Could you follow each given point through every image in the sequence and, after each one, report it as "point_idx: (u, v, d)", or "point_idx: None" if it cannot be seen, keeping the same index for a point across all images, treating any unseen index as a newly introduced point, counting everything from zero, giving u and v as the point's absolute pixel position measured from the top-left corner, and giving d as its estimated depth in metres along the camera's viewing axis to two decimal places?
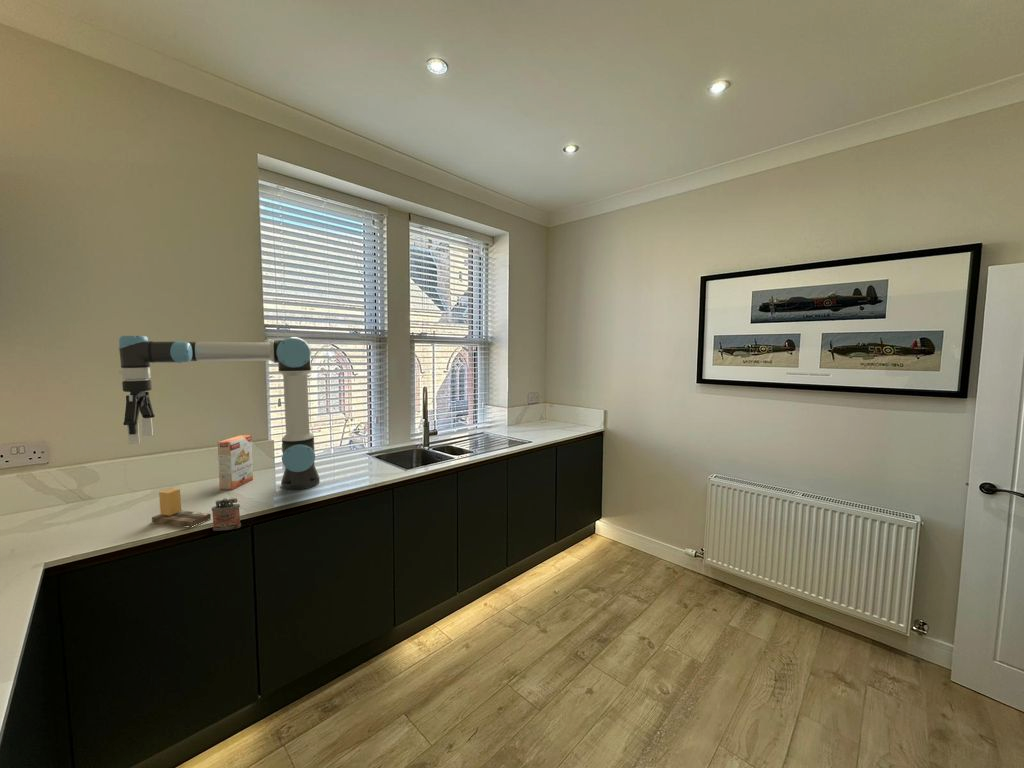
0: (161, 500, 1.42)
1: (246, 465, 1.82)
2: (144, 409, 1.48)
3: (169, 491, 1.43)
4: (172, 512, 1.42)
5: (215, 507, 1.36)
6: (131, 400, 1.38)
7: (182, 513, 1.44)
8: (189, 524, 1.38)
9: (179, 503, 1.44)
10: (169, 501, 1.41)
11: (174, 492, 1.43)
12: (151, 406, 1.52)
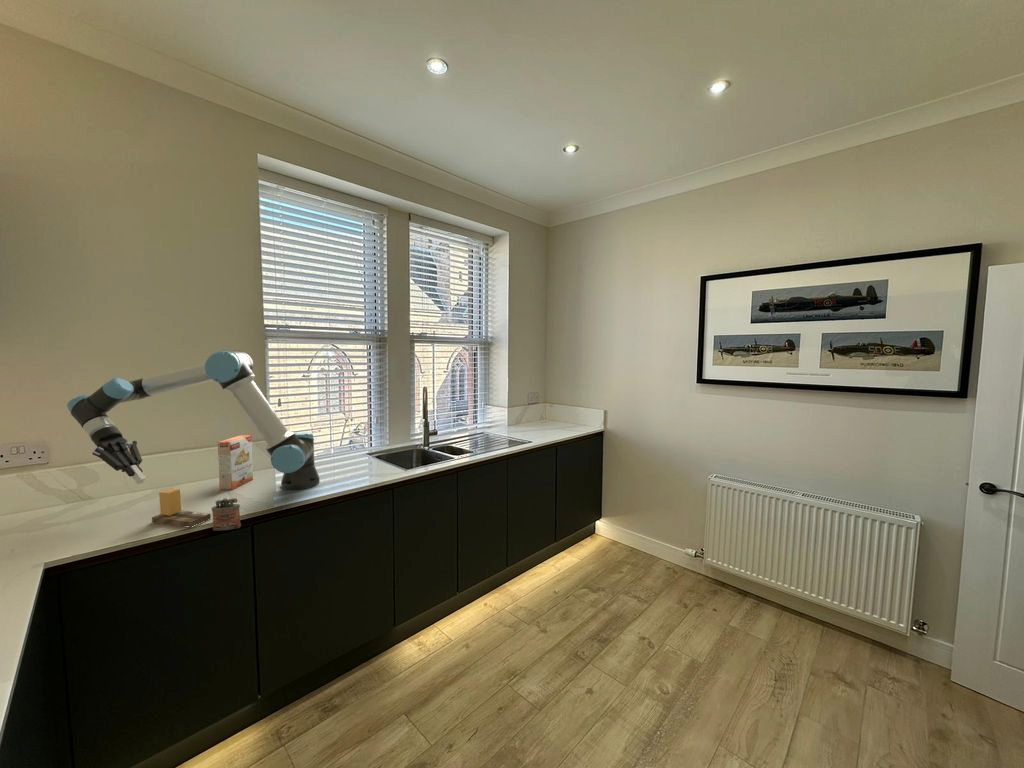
0: (161, 500, 1.42)
1: (246, 465, 1.82)
2: (125, 455, 1.47)
3: (169, 491, 1.43)
4: (172, 512, 1.42)
5: (215, 507, 1.36)
6: (99, 453, 1.41)
7: (182, 513, 1.44)
8: (189, 524, 1.38)
9: (179, 503, 1.44)
10: (169, 501, 1.41)
11: (174, 492, 1.43)
12: (139, 454, 1.50)
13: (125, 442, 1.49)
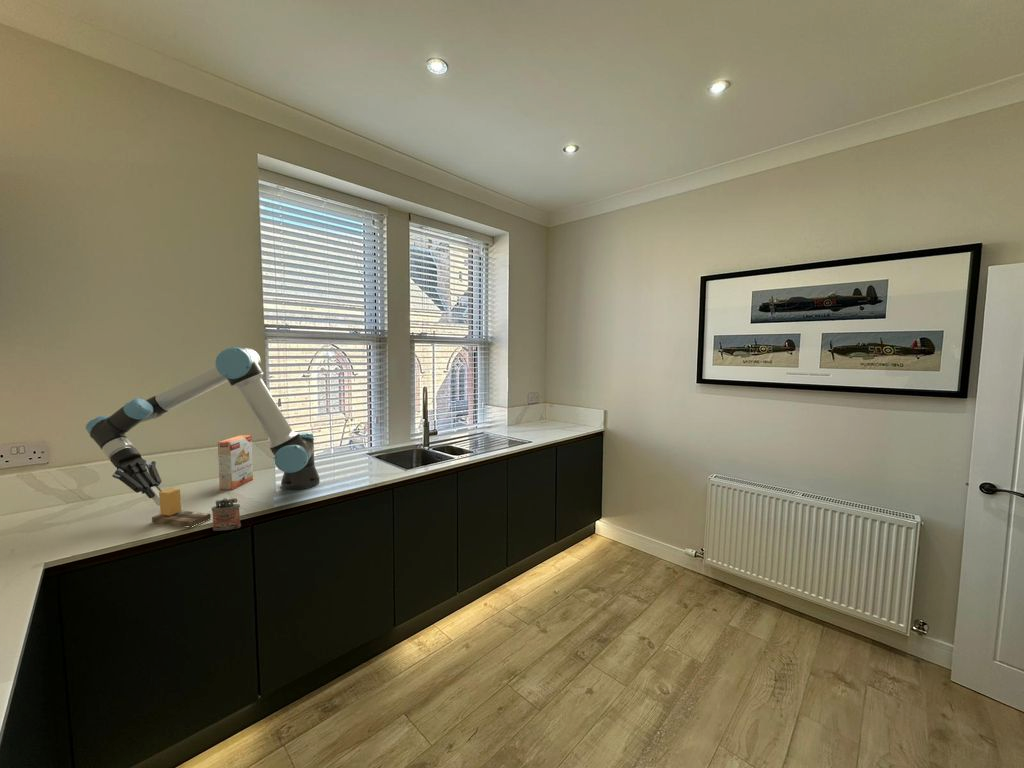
0: (161, 500, 1.42)
1: (246, 465, 1.82)
2: (144, 477, 1.46)
3: (169, 491, 1.43)
4: (172, 512, 1.42)
5: (215, 507, 1.36)
6: (119, 475, 1.40)
7: (182, 513, 1.44)
8: (189, 524, 1.38)
9: (179, 503, 1.44)
10: (169, 501, 1.41)
11: (174, 492, 1.43)
12: (158, 474, 1.49)
13: (144, 463, 1.48)
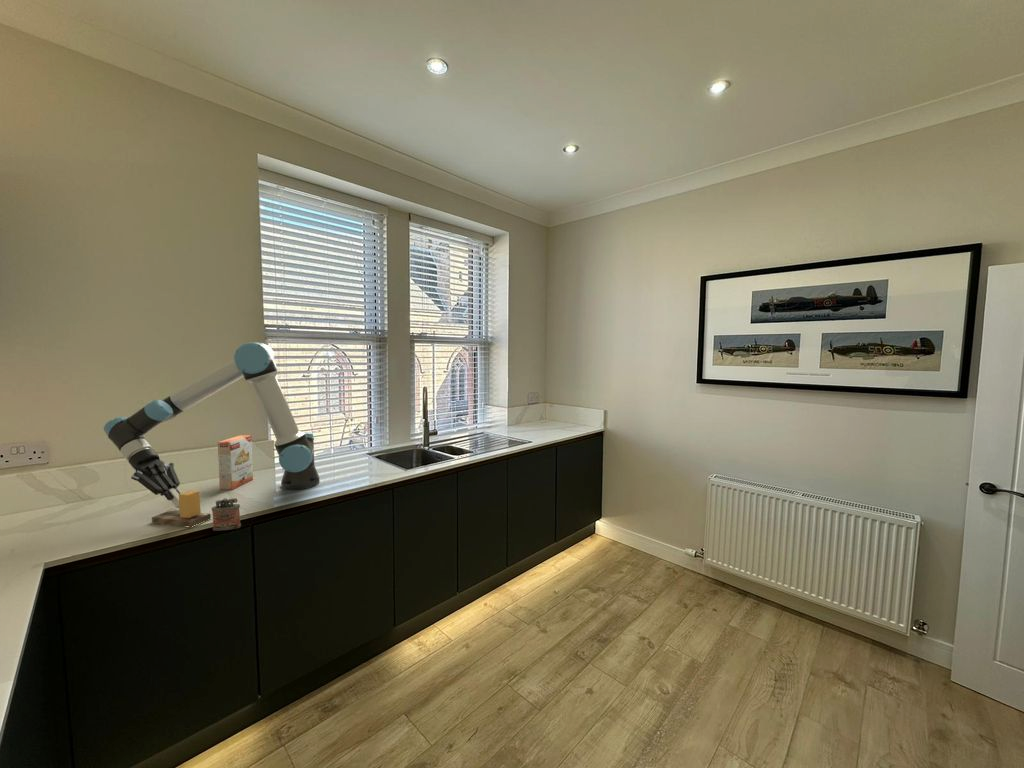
0: (180, 502, 1.40)
1: (246, 465, 1.82)
2: (163, 478, 1.44)
3: (188, 493, 1.41)
4: (192, 514, 1.40)
5: (215, 507, 1.36)
6: (138, 477, 1.38)
7: None
8: (189, 524, 1.38)
9: (198, 505, 1.43)
10: (189, 503, 1.39)
11: (194, 494, 1.41)
12: (176, 476, 1.47)
13: (162, 464, 1.46)
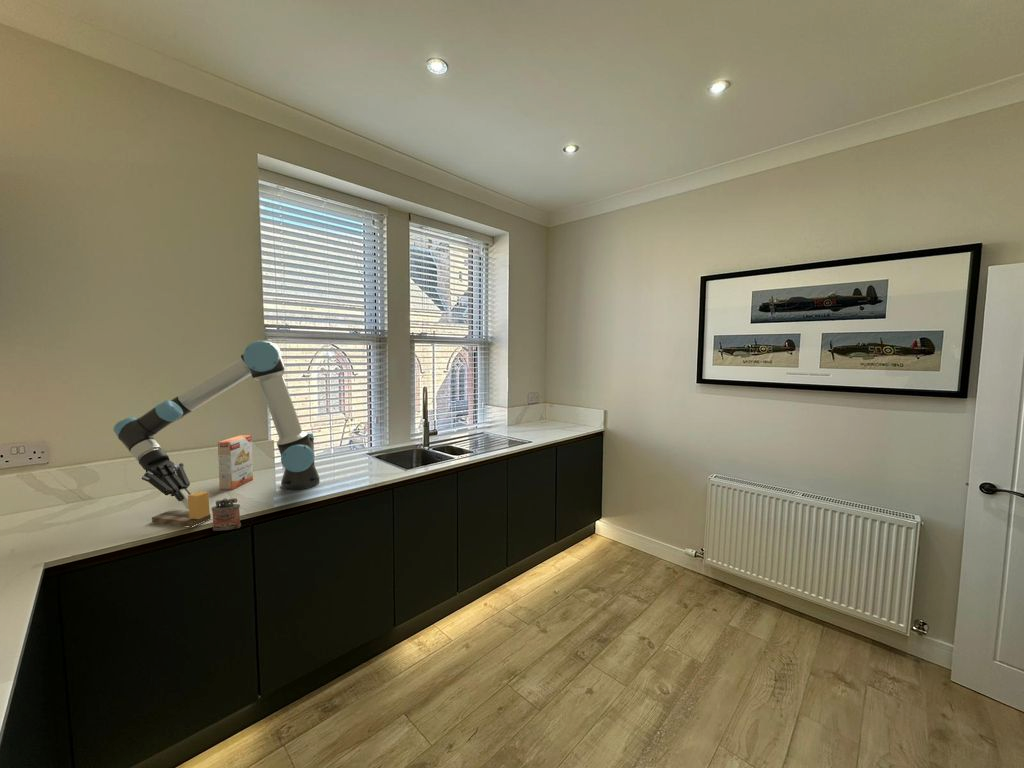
0: (190, 503, 1.39)
1: (246, 465, 1.82)
2: (173, 479, 1.43)
3: (198, 494, 1.40)
4: (201, 515, 1.40)
5: (215, 507, 1.36)
6: (148, 478, 1.37)
7: (182, 513, 1.44)
8: (189, 524, 1.38)
9: (207, 506, 1.42)
10: (198, 504, 1.39)
11: (203, 495, 1.40)
12: (186, 477, 1.46)
13: (172, 465, 1.46)
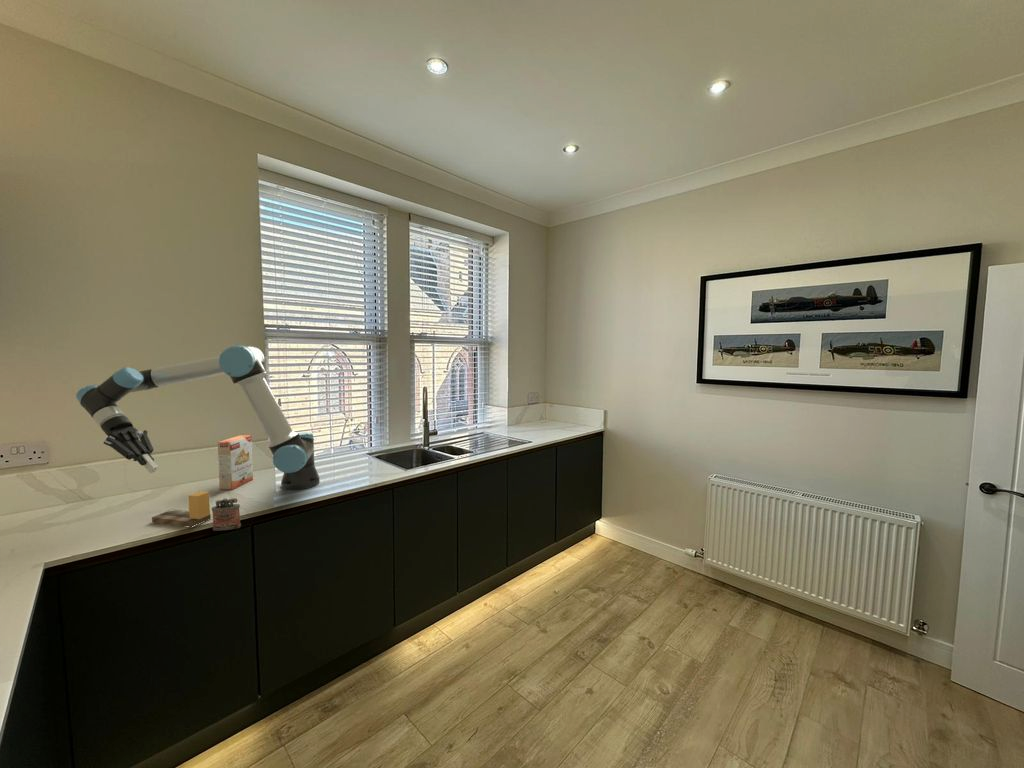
0: (190, 503, 1.39)
1: (246, 465, 1.82)
2: (136, 445, 1.45)
3: (198, 494, 1.40)
4: (201, 516, 1.39)
5: (215, 507, 1.36)
6: (110, 442, 1.40)
7: (182, 513, 1.44)
8: (189, 524, 1.38)
9: (208, 506, 1.42)
10: (199, 504, 1.39)
11: (203, 495, 1.40)
12: (150, 443, 1.48)
13: (136, 431, 1.48)
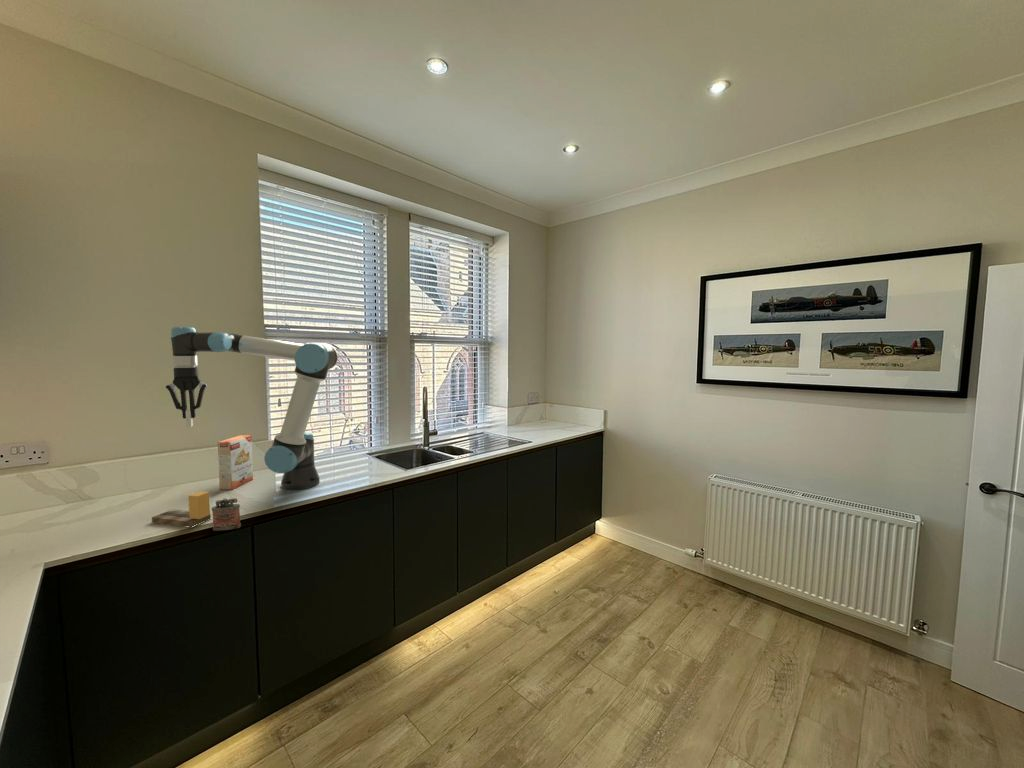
0: (190, 503, 1.39)
1: (246, 465, 1.82)
2: None
3: (198, 494, 1.40)
4: (201, 516, 1.39)
5: (215, 507, 1.36)
6: None
7: (182, 513, 1.44)
8: (189, 524, 1.38)
9: (208, 506, 1.42)
10: (199, 504, 1.39)
11: (203, 495, 1.40)
12: (200, 399, 1.62)
13: (195, 384, 1.61)
